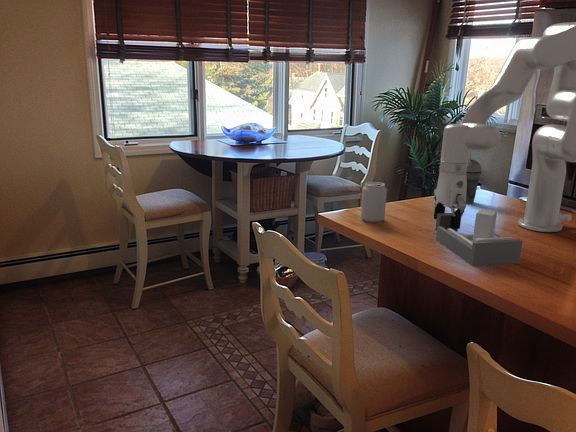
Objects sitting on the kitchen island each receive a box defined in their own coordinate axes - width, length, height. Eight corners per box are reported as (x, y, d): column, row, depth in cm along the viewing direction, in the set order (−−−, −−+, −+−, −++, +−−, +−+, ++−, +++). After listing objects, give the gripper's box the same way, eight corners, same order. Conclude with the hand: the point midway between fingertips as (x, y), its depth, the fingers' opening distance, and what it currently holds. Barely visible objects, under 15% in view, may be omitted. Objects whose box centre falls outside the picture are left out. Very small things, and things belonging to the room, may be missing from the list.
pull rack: (459, 228, 161) (461, 209, 159) (509, 259, 137) (513, 237, 135) (429, 230, 159) (431, 211, 157) (474, 262, 135) (477, 239, 133)
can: (384, 224, 165) (386, 186, 162) (360, 222, 166) (362, 185, 163) (384, 217, 172) (387, 181, 169) (361, 215, 174) (363, 180, 170)
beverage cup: (480, 205, 189) (487, 149, 183) (459, 204, 189) (466, 149, 183) (473, 199, 196) (480, 146, 190) (454, 199, 196) (460, 145, 190)
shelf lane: (477, 237, 154) (480, 217, 153) (519, 263, 136) (522, 240, 134) (435, 239, 152) (438, 219, 150) (472, 265, 133) (475, 243, 131)
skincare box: (486, 259, 137) (492, 215, 134) (470, 256, 140) (475, 212, 136) (491, 253, 142) (497, 210, 139) (475, 249, 144) (481, 207, 141)
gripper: (481, 173, 146) (472, 232, 151) (450, 161, 162) (444, 215, 167) (456, 173, 145) (448, 233, 149) (427, 161, 161) (422, 215, 166)
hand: (446, 223), depth 158 cm, fingers open, 9 cm apart
